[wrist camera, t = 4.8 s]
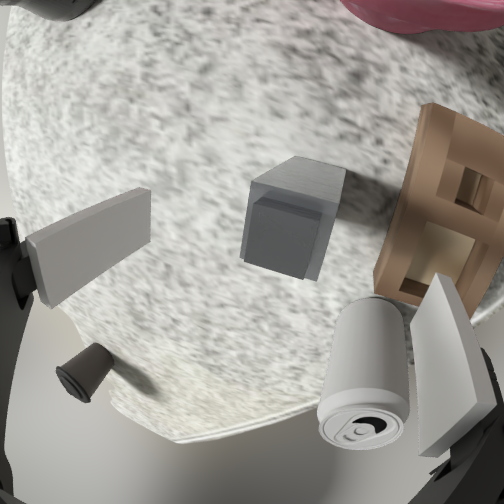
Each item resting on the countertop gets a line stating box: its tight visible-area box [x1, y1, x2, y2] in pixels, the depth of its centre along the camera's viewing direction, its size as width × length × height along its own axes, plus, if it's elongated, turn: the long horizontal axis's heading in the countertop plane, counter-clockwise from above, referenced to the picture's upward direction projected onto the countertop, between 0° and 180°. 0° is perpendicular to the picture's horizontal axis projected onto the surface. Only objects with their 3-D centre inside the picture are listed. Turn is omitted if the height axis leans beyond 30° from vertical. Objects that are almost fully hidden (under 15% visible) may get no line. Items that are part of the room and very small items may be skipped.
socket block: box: [373, 103, 504, 320], centre depth 17 cm, size 14×9×3 cm, turn 171°
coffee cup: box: [56, 343, 114, 403], centre depth 41 cm, size 8×8×10 cm
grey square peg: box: [240, 156, 346, 281], centre depth 17 cm, size 4×4×11 cm
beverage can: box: [317, 298, 410, 450], centre depth 20 cm, size 6×6×12 cm
